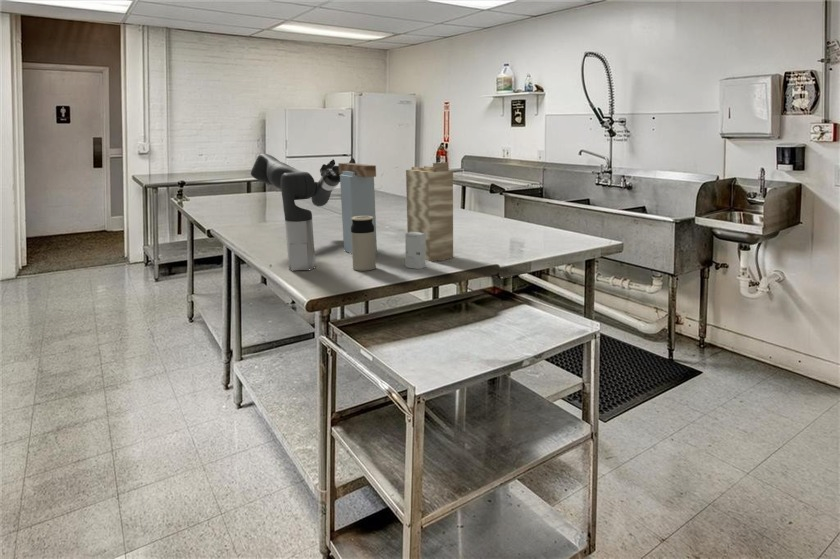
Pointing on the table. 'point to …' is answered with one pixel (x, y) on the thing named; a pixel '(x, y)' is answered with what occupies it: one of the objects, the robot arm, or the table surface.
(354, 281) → the table surface
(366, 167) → the walnut rail
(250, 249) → the table surface
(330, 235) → the table surface
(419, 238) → the skincare box
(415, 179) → the birch stand
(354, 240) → the travel mug
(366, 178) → the slate pedestal
